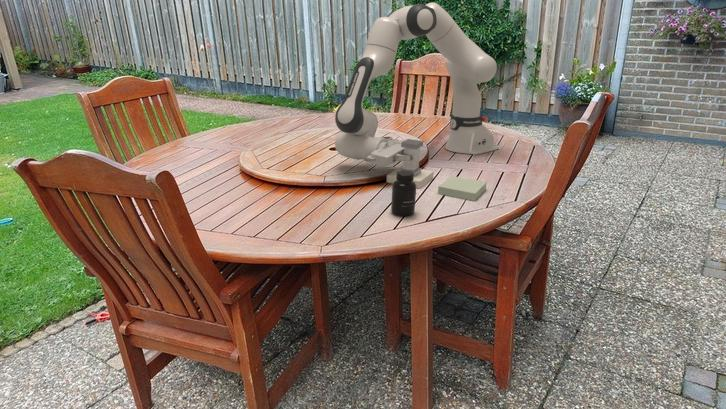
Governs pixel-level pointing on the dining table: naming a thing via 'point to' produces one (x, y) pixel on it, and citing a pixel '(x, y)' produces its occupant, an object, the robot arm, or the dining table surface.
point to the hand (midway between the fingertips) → (413, 156)
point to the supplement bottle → (403, 194)
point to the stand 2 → (462, 188)
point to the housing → (412, 155)
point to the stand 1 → (419, 179)
